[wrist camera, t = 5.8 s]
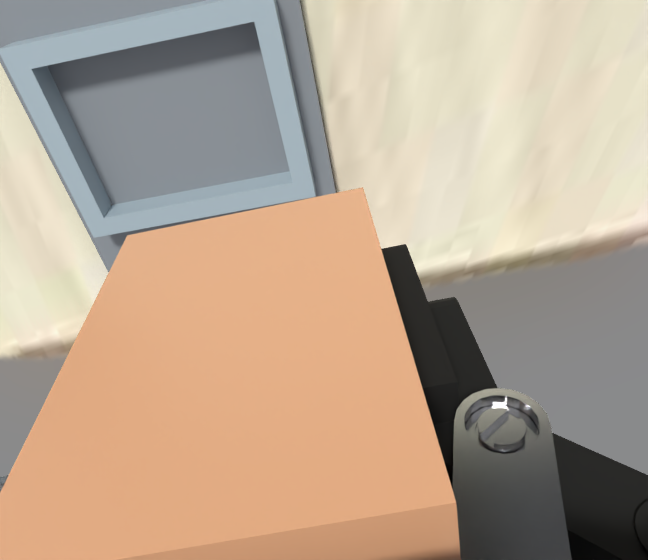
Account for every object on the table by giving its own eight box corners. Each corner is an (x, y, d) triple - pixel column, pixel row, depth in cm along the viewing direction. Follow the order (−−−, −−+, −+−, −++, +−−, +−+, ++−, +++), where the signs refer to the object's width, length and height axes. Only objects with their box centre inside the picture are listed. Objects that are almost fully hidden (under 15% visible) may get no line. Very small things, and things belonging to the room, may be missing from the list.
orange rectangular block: (362, 187, 11) (456, 502, 5) (391, 362, 13) (471, 692, 8) (126, 235, 11) (-46, 586, 5) (203, 397, 14) (145, 740, 8)
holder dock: (273, -142, 21) (270, -147, 19) (344, 238, 31) (347, 261, 29) (-51, -65, 22) (-87, -63, 20) (121, 278, 32) (109, 303, 30)
